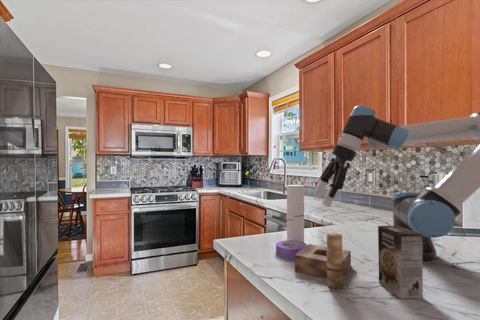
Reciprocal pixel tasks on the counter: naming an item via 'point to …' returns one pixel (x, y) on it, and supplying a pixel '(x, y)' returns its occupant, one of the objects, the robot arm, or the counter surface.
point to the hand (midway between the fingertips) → (321, 200)
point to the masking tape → (289, 248)
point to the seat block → (318, 261)
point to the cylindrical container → (295, 212)
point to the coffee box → (400, 261)
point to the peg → (334, 261)
